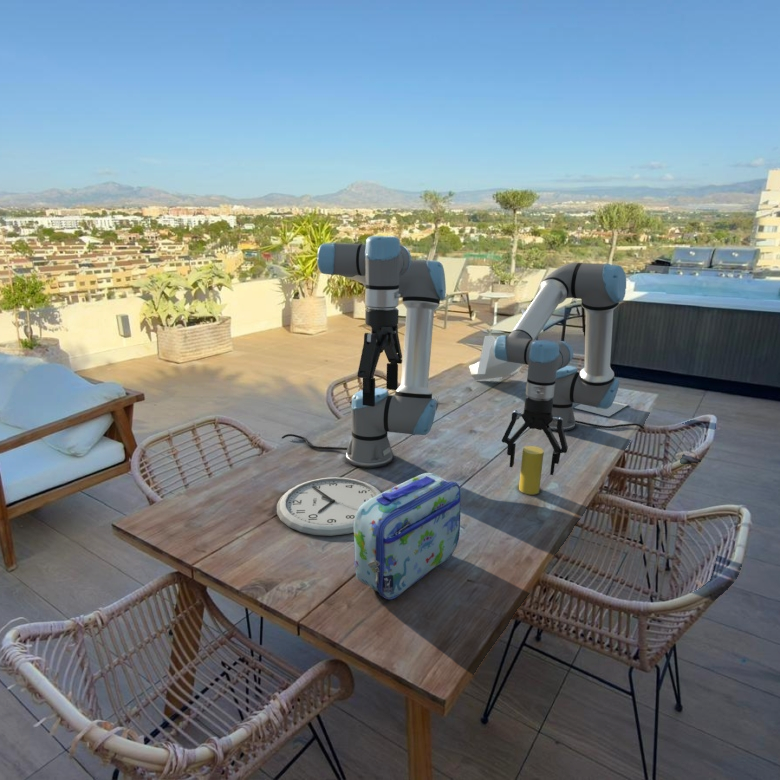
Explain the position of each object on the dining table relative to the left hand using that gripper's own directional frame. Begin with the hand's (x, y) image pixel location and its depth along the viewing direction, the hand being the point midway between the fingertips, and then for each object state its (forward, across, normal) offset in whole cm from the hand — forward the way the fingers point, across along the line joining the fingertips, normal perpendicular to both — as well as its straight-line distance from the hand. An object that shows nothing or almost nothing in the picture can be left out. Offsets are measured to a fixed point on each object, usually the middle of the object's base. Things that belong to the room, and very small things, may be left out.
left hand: (380, 397), depth 124 cm
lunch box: (+34, -15, -14) cm, 40 cm away
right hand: (+28, +35, -33) cm, 55 cm away
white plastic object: (+34, +137, -8) cm, 141 cm away
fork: (+34, +94, +18) cm, 102 cm away
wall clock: (+34, +3, +15) cm, 38 cm away
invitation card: (+34, +125, -50) cm, 139 cm away
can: (+34, +35, -32) cm, 59 cm away
